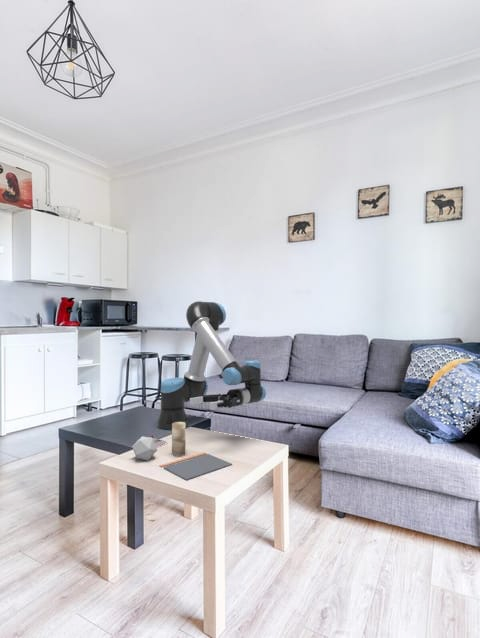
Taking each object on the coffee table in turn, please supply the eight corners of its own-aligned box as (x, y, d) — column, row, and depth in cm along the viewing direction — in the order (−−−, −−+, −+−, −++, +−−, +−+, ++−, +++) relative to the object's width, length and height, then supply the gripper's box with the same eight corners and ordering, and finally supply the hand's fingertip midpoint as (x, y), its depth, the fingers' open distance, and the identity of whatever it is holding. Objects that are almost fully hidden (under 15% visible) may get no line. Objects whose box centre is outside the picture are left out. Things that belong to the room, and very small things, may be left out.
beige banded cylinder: (180, 451, 148) (180, 421, 148) (187, 454, 144) (188, 423, 145) (169, 454, 144) (169, 423, 145) (176, 457, 141) (176, 426, 141)
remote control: (159, 450, 151) (159, 442, 151) (133, 443, 159) (133, 436, 159) (170, 445, 156) (170, 438, 156) (144, 439, 165) (144, 432, 165)
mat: (208, 454, 144) (208, 453, 144) (232, 464, 133) (232, 463, 133) (163, 468, 130) (163, 467, 130) (186, 480, 120) (186, 479, 120)
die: (161, 458, 142) (155, 434, 146) (154, 454, 134) (148, 429, 139) (140, 466, 141) (135, 442, 146) (133, 463, 133) (127, 437, 138)
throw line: (203, 453, 146) (203, 452, 146) (206, 454, 145) (206, 453, 145) (159, 466, 132) (159, 465, 132) (161, 467, 131) (161, 466, 131)
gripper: (257, 409, 156) (219, 418, 142) (220, 401, 175) (182, 408, 160) (257, 391, 157) (219, 398, 142) (219, 385, 175) (182, 391, 160)
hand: (199, 403), depth 151 cm, fingers open, 13 cm apart
